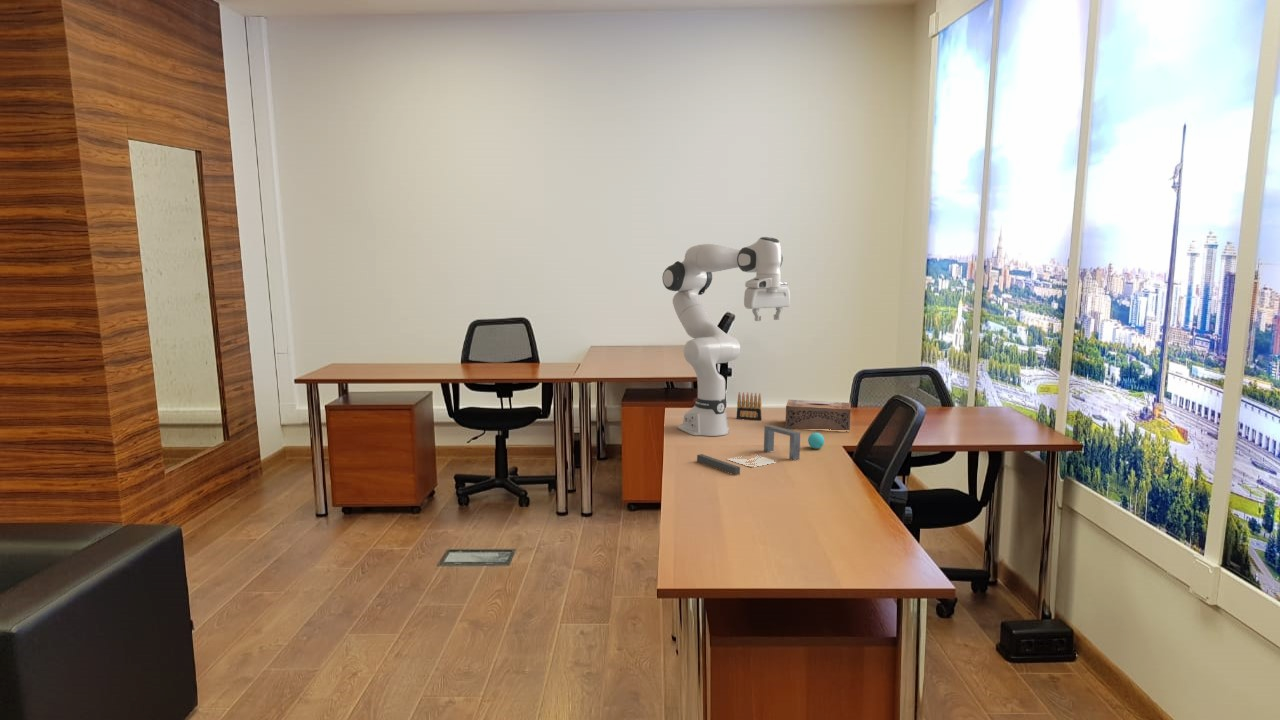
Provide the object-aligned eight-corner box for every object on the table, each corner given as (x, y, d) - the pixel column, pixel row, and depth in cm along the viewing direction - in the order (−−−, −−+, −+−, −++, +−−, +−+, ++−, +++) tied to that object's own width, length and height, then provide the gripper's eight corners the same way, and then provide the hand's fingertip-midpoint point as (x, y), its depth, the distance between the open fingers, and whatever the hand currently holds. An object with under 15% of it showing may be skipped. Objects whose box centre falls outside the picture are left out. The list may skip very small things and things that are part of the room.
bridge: (793, 460, 288) (794, 433, 287) (763, 451, 300) (764, 425, 299) (799, 459, 290) (800, 432, 289) (769, 450, 302) (770, 424, 301)
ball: (804, 448, 306) (804, 432, 305) (815, 445, 310) (816, 430, 309) (816, 451, 301) (816, 435, 300) (827, 449, 305) (828, 433, 304)
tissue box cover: (849, 426, 345) (850, 402, 344) (849, 433, 332) (850, 409, 330) (787, 422, 352) (788, 399, 350) (785, 429, 338) (786, 405, 336)
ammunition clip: (761, 419, 355) (762, 392, 353) (761, 420, 353) (761, 393, 352) (737, 418, 358) (737, 391, 356) (736, 419, 356) (737, 392, 354)
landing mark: (726, 459, 289) (726, 459, 289) (753, 454, 296) (753, 453, 296) (751, 468, 278) (751, 467, 278) (779, 462, 286) (779, 461, 286)
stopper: (697, 461, 286) (697, 454, 285) (701, 461, 287) (701, 454, 286) (735, 475, 269) (735, 467, 269) (739, 474, 271) (739, 466, 270)
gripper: (782, 281, 305) (781, 318, 307) (741, 282, 294) (740, 320, 296) (794, 282, 300) (793, 319, 302) (753, 283, 288) (752, 322, 290)
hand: (767, 320), depth 299 cm, fingers open, 8 cm apart
